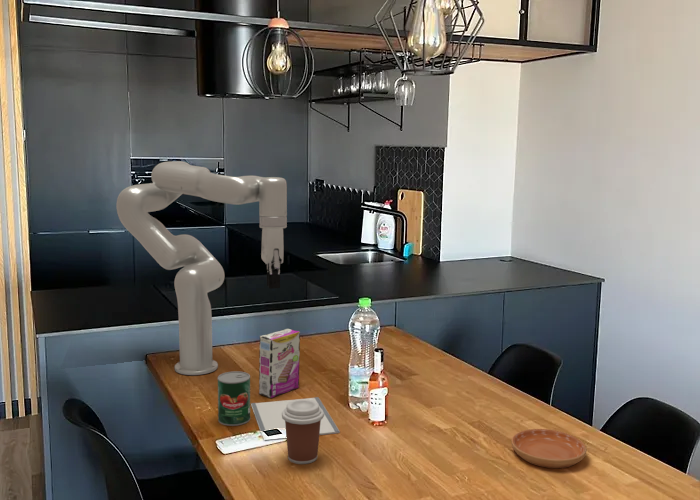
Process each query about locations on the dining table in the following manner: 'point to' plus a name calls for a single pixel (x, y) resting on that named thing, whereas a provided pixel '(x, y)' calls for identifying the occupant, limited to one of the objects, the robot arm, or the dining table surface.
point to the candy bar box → (279, 362)
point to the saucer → (548, 448)
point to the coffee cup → (302, 430)
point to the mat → (271, 418)
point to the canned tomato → (234, 398)
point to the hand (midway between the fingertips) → (273, 286)
